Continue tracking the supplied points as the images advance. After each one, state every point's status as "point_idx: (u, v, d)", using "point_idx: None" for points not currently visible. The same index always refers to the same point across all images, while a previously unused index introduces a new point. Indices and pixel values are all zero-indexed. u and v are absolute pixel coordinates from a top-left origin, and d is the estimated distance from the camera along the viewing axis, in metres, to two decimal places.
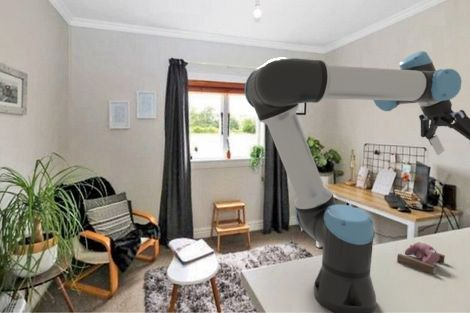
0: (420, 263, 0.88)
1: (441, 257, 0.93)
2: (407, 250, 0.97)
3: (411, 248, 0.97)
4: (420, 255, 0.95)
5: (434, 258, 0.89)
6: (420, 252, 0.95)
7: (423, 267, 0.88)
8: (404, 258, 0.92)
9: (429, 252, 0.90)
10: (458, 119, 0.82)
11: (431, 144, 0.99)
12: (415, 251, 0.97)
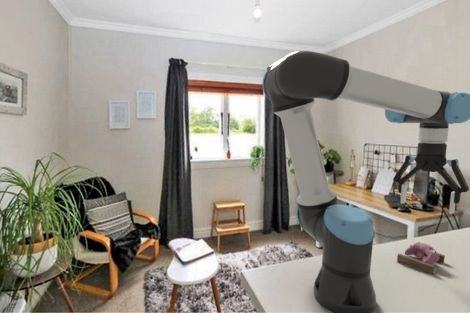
0: (420, 263, 0.88)
1: (441, 257, 0.93)
2: (407, 250, 0.97)
3: (411, 248, 0.97)
4: (420, 255, 0.95)
5: (434, 258, 0.89)
6: (420, 252, 0.95)
7: (423, 267, 0.88)
8: (404, 258, 0.92)
9: (429, 252, 0.90)
10: (454, 165, 0.84)
11: (399, 191, 0.97)
12: (415, 251, 0.97)
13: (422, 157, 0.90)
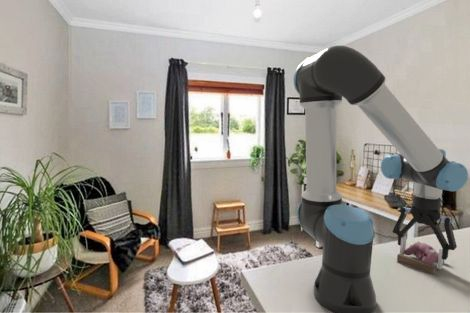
0: (420, 263, 0.88)
1: None
2: (407, 250, 0.97)
3: (411, 248, 0.97)
4: (420, 255, 0.94)
5: (434, 258, 0.89)
6: (420, 252, 0.95)
7: (423, 267, 0.88)
8: (404, 258, 0.92)
9: (429, 252, 0.90)
10: (446, 223, 0.86)
11: (398, 243, 0.98)
12: (415, 251, 0.97)
13: (417, 209, 0.92)
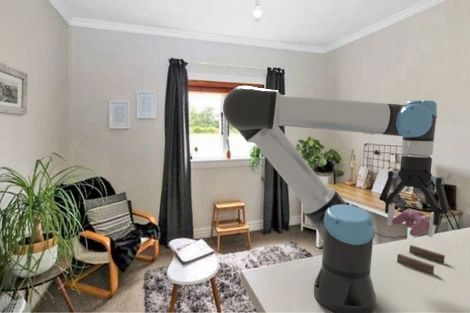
0: (420, 263, 0.88)
1: (441, 257, 0.93)
2: (395, 219, 0.87)
3: (399, 216, 0.87)
4: (409, 223, 0.85)
5: (424, 224, 0.79)
6: (409, 220, 0.85)
7: (423, 267, 0.88)
8: (404, 258, 0.92)
9: (419, 218, 0.80)
10: (438, 183, 0.76)
11: (385, 211, 0.88)
12: (404, 219, 0.87)
13: (405, 171, 0.82)
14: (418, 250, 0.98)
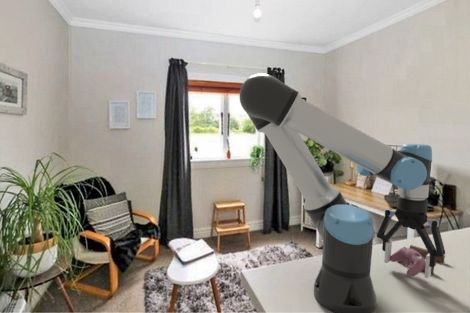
0: None
1: (441, 257, 0.93)
2: (392, 256, 0.89)
3: (396, 254, 0.89)
4: (406, 262, 0.86)
5: (420, 266, 0.80)
6: (406, 258, 0.87)
7: None
8: None
9: (415, 259, 0.82)
10: (434, 227, 0.78)
11: (383, 248, 0.89)
12: (401, 257, 0.88)
13: (401, 211, 0.84)
14: (418, 250, 0.98)
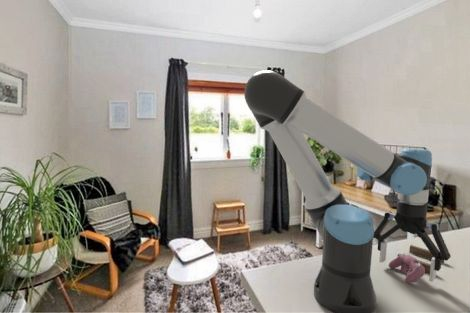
0: None
1: None
2: (391, 263, 0.89)
3: (395, 260, 0.89)
4: (405, 268, 0.86)
5: (419, 273, 0.80)
6: (405, 265, 0.87)
7: None
8: None
9: (414, 265, 0.82)
10: (434, 230, 0.78)
11: (378, 248, 0.90)
12: (400, 264, 0.88)
13: (401, 216, 0.84)
14: (418, 250, 0.98)
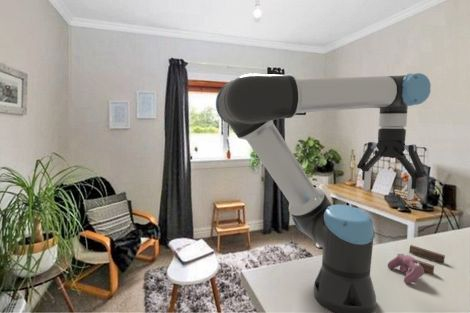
0: (420, 263, 0.88)
1: (441, 257, 0.93)
2: (390, 263, 0.89)
3: (394, 260, 0.89)
4: (404, 268, 0.86)
5: (418, 273, 0.80)
6: (404, 265, 0.87)
7: (423, 267, 0.88)
8: None
9: (413, 265, 0.82)
10: (410, 150, 0.83)
11: (362, 178, 0.96)
12: (399, 264, 0.88)
13: (382, 143, 0.89)
14: (418, 250, 0.98)
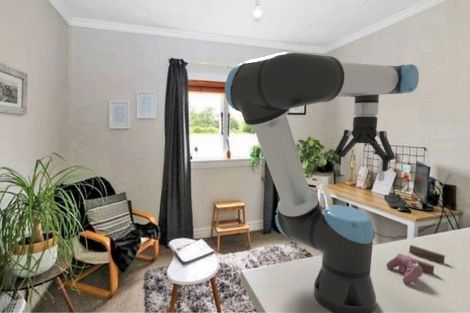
0: (420, 263, 0.88)
1: (441, 257, 0.93)
2: (389, 263, 0.89)
3: (393, 261, 0.89)
4: (403, 268, 0.86)
5: (417, 273, 0.80)
6: (403, 265, 0.87)
7: (423, 267, 0.88)
8: None
9: (412, 266, 0.82)
10: (381, 136, 0.92)
11: (339, 163, 1.04)
12: (397, 264, 0.88)
13: (357, 130, 0.98)
14: (418, 250, 0.98)
